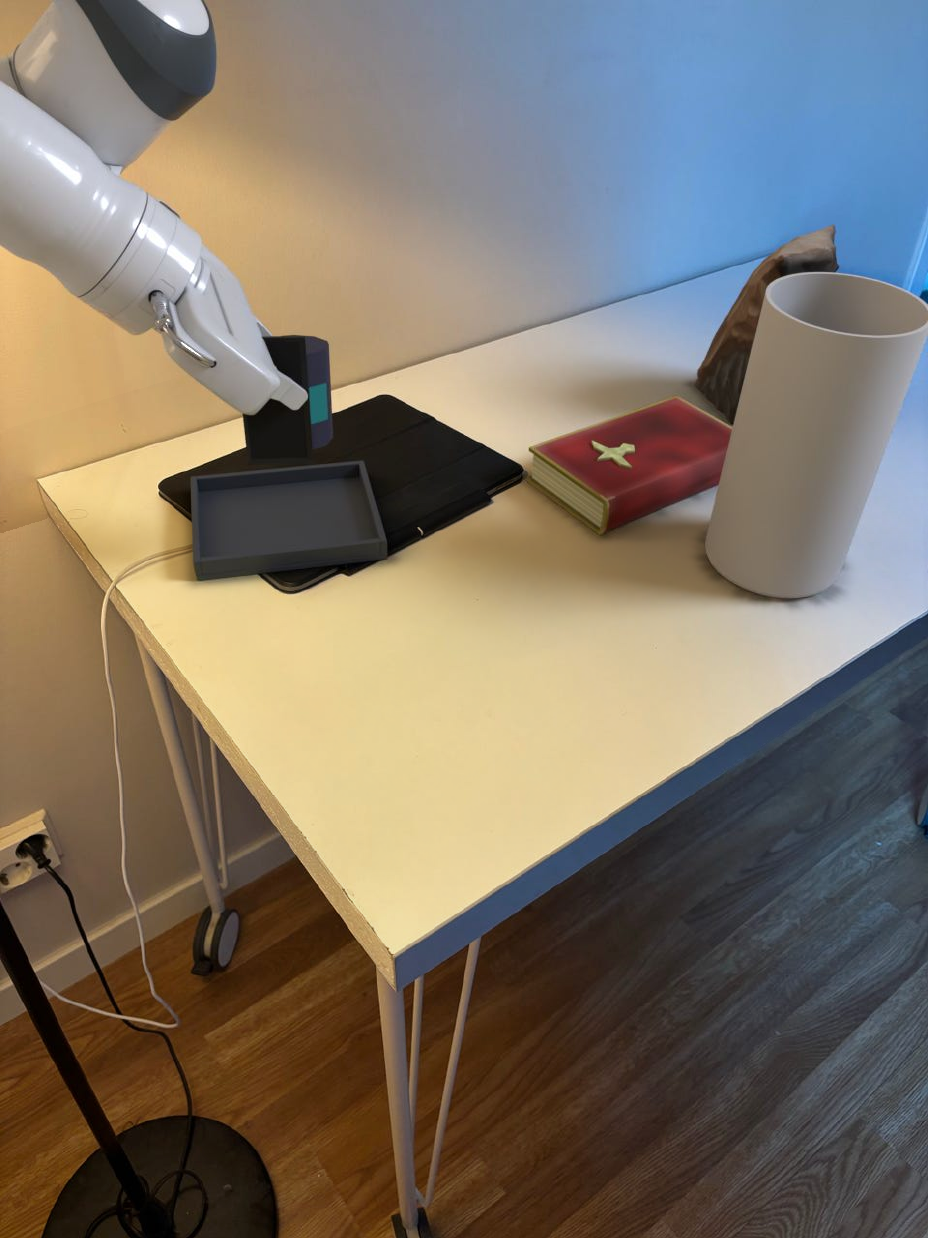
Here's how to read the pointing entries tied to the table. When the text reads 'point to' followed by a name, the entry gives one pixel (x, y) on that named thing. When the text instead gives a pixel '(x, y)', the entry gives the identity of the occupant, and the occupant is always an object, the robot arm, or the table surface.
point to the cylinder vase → (812, 428)
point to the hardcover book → (632, 463)
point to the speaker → (282, 429)
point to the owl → (757, 316)
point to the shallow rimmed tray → (284, 520)
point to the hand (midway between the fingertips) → (292, 378)
